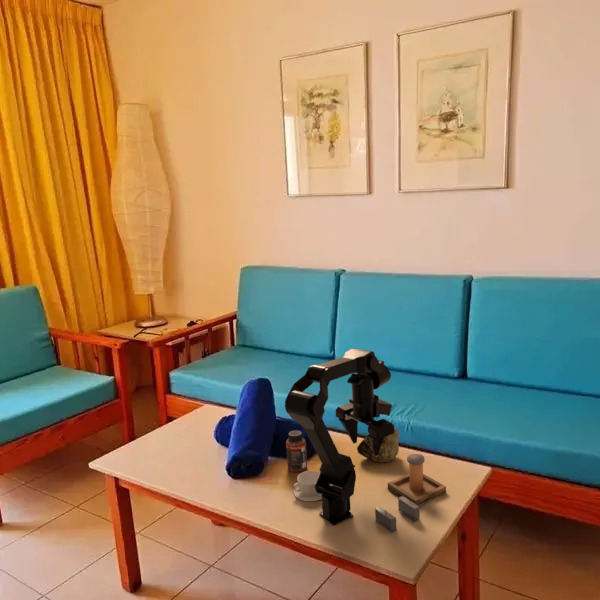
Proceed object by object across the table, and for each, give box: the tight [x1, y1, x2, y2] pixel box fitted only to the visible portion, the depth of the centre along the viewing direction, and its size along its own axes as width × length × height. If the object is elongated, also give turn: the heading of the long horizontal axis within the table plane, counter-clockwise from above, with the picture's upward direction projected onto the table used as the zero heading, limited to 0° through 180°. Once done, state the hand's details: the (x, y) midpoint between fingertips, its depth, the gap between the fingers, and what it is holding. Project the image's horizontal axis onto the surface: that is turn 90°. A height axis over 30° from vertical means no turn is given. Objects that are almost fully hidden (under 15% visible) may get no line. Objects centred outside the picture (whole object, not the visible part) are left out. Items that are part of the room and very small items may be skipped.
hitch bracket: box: [374, 496, 421, 534], centre depth 139 cm, size 9×6×4 cm, turn 122°
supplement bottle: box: [285, 430, 308, 473], centre depth 167 cm, size 6×6×11 cm
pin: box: [406, 453, 426, 492], centre depth 151 cm, size 5×5×9 cm
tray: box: [387, 473, 447, 507], centre depth 152 cm, size 11×11×2 cm
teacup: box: [293, 470, 322, 502], centre depth 155 cm, size 10×10×5 cm
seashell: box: [356, 428, 400, 463], centre depth 170 cm, size 11×11×10 cm
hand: (365, 448), depth 152 cm, fingers open, 9 cm apart
